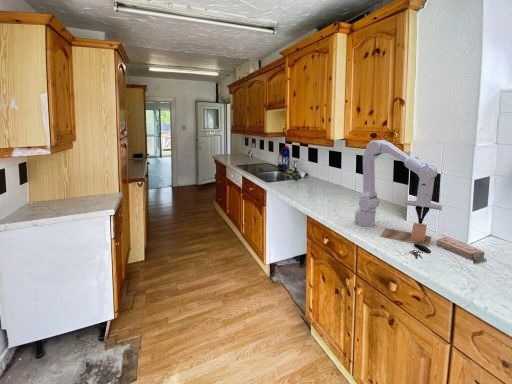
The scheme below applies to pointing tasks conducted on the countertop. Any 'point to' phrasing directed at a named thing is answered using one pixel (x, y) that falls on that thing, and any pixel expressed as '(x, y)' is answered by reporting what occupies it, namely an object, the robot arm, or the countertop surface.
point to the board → (404, 237)
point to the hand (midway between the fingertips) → (420, 223)
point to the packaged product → (461, 249)
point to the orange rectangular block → (418, 232)
